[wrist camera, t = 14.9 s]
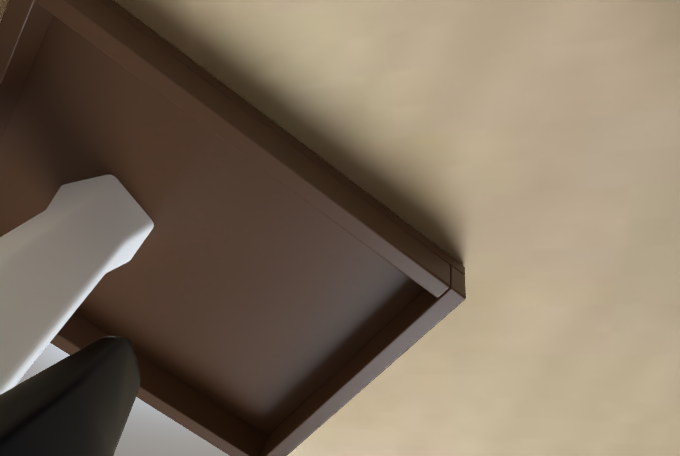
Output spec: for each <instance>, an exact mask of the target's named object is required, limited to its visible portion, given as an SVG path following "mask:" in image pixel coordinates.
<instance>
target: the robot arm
mask: <svg viewBox="0 0 680 456" xmlns="http://www.w3.org/2000/svg"><path fill="white" fill-rule="evenodd" d="M140 383H141V374H140V370H139V366H138V363H137V359H136V356H135V352H134V349H133V345H132V343H131V341H130V340H129V339H128V338H126V337H117V336H105V337H102V338H100V339H98V340H97V341H95V342H93V343H91V344H90V345H88V346H86V347H84V348H82V349H81V350H79V351H77V352H75V353H74V354H72V355H70V356H68V357H66V358H65V359H63V360H61V361H59V362H58V363H56V364H54V365H52V366H51V367H49V368H47V369H45V370H43V371H42V372H40V373H38V374H36V375H35V376H33V377H31V378H29V379H27V380H26V381H24V382H22V383H20V384H18V385H17V386H15V387H13V388H11V389H10V390H8V391H6V392H4V393H2V394H1V395H0V456H113V455H114V452H115V450H116V447H117V445H118V442H119V439H120V436H121V434H122V432H123V429H124V426H125V424H126V421H127V418H128V416H129V413H130V411H131V408H132V406H133V403H134V401H135V398H136V395H137V393H138V390H139V387H140Z"/></svg>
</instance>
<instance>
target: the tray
mask: <svg viewBox="0 0 680 456" xmlns="http://www.w3.org/2000/svg"><path fill="white" fill-rule="evenodd" d="M103 175H113V176H115V177H116V178H117V179H118V180H119V182H120V183H121V184H122V185H123V186H124V187H125V189H126V190H127V191H128V192H129V193H130V195H131V196H132V197H133V198H134V199H135V201H136V202H137V203H138V204H139V205H140V206H141V208H142V209H143V210H144V211H145V212H146V214H147V215H148V216H149V217H150V218H151V220H152V221H153V224H154V227H153V229H152V230H151V232H150V233H149V235H148V236H147V237H146V239H145V240H144V242H143V243H142V244H141V246H140V247H139V249H138V250H137V251H136V253H135V254H134V256H133V257H132V259H131V260H130V261H129V262H127V263H125V264H123V265H121V266H119V267H117V268H115V269H113V270H111V271H109V272H108V273H106V274H105V275H104V276H103V277H102V279H101V280H100V281H99V282H98V284H97V285H96V286H95V287H94V288H93V290H92V291H91V292H90V293H89V295H88V296H87V297H86V298H85V300H84V301H83V302H82V303H81V305H80V306H79V307H78V308H77V310H76V311H75V312H74V313H73V315H72V316H71V317H70V318H69V319H68V321H67V322H66V323H65V324H64V326H63V327H62V328H61V329H60V331H59V332H58V333H57V334H56V336H55V337H54V338H53V339H52V341H51V342H50V343H52V344H53V345H55V346H57V347H58V348H60V349H61V350H63V351H64V352H66V353H68V354H69V355H72V354H74V353H75V352H77V351H79V350H81V349H82V348H84V347H86V346H88V345H90V344H91V343H93V342H95V341H97V340H98V339H100V338H102V337H105V336H117V337H126V338H128V339H129V340H130V341H131V343H132V345H133V349H134V352H135V356H136V359H137V363H138V366H139V370H140V374H141V383H140V387H139V390H138V393H137V395H136V397H138V398H139V399H141V400H142V401H144V402H146V403H147V404H149V405H151V406H152V407H154V408H155V409H157V410H158V411H160V412H162V413H163V414H165V415H166V416H168V417H169V418H171V419H173V420H174V421H176V422H178V423H179V424H181V425H182V426H184V427H185V428H187V429H189V430H190V431H192V432H193V433H195V434H197V435H198V436H200V437H201V438H203V439H204V440H206V441H208V442H209V443H211V444H212V445H214V446H216V447H217V448H219V449H220V450H222V451H223V452H225V453H227V454H228V455H230V456H287V455H288V454H289V453H290V452H292V451H293V450H294V449H295V448H296V447H297V446H298V445H300V444H301V443H302V442H303V441H304V440H305V439H306V438H308V437H309V436H310V435H311V434H312V433H313V432H314V431H315V430H317V429H318V428H319V427H320V426H321V425H322V424H323V423H325V422H326V421H327V420H328V419H329V418H330V417H331V416H333V415H334V414H335V413H336V412H337V411H338V410H339V409H341V408H342V407H343V406H344V405H345V404H346V403H347V402H349V401H350V400H351V399H352V398H353V397H354V396H355V395H356V394H358V393H359V392H360V391H361V390H362V389H363V388H364V387H366V386H367V385H368V384H369V383H370V382H371V381H372V380H374V379H375V378H376V377H377V376H378V375H379V374H380V373H382V372H383V371H384V370H385V369H386V368H387V367H388V366H390V365H391V364H392V363H393V362H394V361H395V360H396V359H397V358H399V357H400V356H401V355H402V354H403V353H404V352H405V351H407V350H408V349H409V348H410V347H411V346H412V345H413V344H415V343H416V342H417V341H418V340H419V339H420V338H421V337H423V336H424V335H425V334H426V333H427V332H428V331H429V330H431V329H432V328H433V327H434V326H435V325H436V324H437V323H438V322H440V321H441V320H442V319H443V318H444V317H445V316H446V315H448V314H449V313H450V312H451V311H452V310H453V309H454V308H456V307H457V306H458V305H459V304H460V303H461V302H462V301H464V300H465V298H466V293H465V267H464V266H463V265H461V264H460V263H459V262H457V261H456V260H455V259H453V258H452V257H451V256H449V255H448V254H447V253H445V252H444V251H443V250H441V249H440V248H439V247H437V246H436V245H435V244H433V243H432V242H431V241H430V240H428V239H427V238H426V237H424V236H423V235H422V234H420V233H419V232H418V231H416V230H415V229H414V228H412V227H411V226H410V225H408V224H407V223H406V222H404V221H403V220H402V219H400V218H399V217H398V216H397V215H395V214H394V213H393V212H391V211H390V210H389V209H387V208H386V207H385V206H383V205H382V204H381V203H379V202H378V201H377V200H375V199H374V198H373V197H371V196H370V195H369V194H367V193H366V192H365V191H364V190H362V189H361V188H360V187H358V186H357V185H356V184H354V183H353V182H352V181H350V180H349V179H348V178H346V177H345V176H344V175H342V174H341V173H340V172H338V171H337V170H336V169H335V168H333V167H332V166H331V165H329V164H328V163H327V162H325V161H324V160H323V159H321V158H320V157H319V156H317V155H316V154H315V153H313V152H312V151H311V150H309V149H308V148H307V147H305V146H304V145H303V144H302V143H300V142H299V141H298V140H296V139H295V138H294V137H292V136H291V135H290V134H288V133H287V132H286V131H284V130H283V129H282V128H280V127H279V126H278V125H276V124H275V123H274V122H272V121H271V120H270V119H269V118H267V117H266V116H265V115H263V114H262V113H261V112H259V111H258V110H257V109H255V108H254V107H253V106H251V105H250V104H249V103H247V102H246V101H245V100H243V99H242V98H241V97H240V96H238V95H237V94H236V93H234V92H233V91H232V90H230V89H229V88H228V87H226V86H225V85H224V84H222V83H221V82H220V81H218V80H217V79H216V78H214V77H213V76H212V75H210V74H209V73H208V72H207V71H205V70H204V69H203V68H201V67H200V66H199V65H197V64H196V63H195V62H193V61H192V60H191V59H189V58H188V57H187V56H185V55H184V54H183V53H181V52H180V51H179V50H177V49H176V48H175V47H174V46H172V45H171V44H170V43H168V42H167V41H166V40H164V39H163V38H162V37H160V36H159V35H158V34H156V33H155V32H154V31H152V30H151V29H150V28H148V27H147V26H146V25H144V24H143V23H142V22H141V21H139V20H138V19H137V18H135V17H134V16H133V15H131V14H130V13H129V12H127V11H126V10H125V9H123V8H122V7H121V6H119V5H118V4H117V3H115V2H114V1H113V0H9V2H8V5H7V7H6V10H5V13H4V15H3V18H2V20H1V23H0V237H2V236H3V235H5V234H7V233H8V232H10V231H12V230H13V229H15V228H17V227H18V226H20V225H22V224H23V223H25V222H27V221H28V220H30V219H32V218H33V217H35V216H37V215H38V214H40V213H42V212H43V211H45V210H46V209H47V207H48V206H49V204H50V203H51V201H52V200H53V198H54V196H55V195H56V193H57V192H58V190H59V188H60V187H61V186H62V185H64V184H68V183H72V182H77V181H81V180H86V179H90V178H94V177H99V176H103Z"/></svg>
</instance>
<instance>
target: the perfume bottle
mask: <svg viewBox="0 0 680 456" xmlns="http://www.w3.org/2000/svg"><path fill="white" fill-rule="evenodd" d="M153 227H154V224H153V221H152V220H151V218H150V217H149V216H148V215H147V214H146V212H145V211H144V210H143V209H142V208H141V206H140V205H139V204H138V203H137V202H136V201H135V199H134V198H133V197H132V196H131V195H130V193H129V192H128V191H127V190H126V189H125V187H124V186H123V185H122V184H121V183H120V182H119V180H118V179H117V178H116V177H115V176H113V175H103V176H99V177H94V178H90V179H86V180H81V181H77V182H72V183H68V184H64V185H62V186H61V187H60V188H59V190H58V192H57V193H56V195H55V196H54V198H53V200H52V201H51V203H50V204H49V206H48V207H47V209H46V210H45V211H43V212H42V213H40V214H38V215H37V216H35V217H33V218H32V219H30V220H28V221H27V222H25V223H23V224H22V225H20V226H18V227H17V228H15V229H13V230H12V231H10V232H8V233H7V234H5V235H3V236H2V237H0V395H1V394H2V393H4V392H6V391H8V390H10V389H11V388H13V387H15V385H16V384H17V383H18V382H19V380H20V379H21V378H22V376H23V375H24V374H25V373H26V372H27V370H28V369H29V368H30V367H31V365H32V364H33V363H34V362H35V360H36V359H37V358H38V357H39V355H40V354H41V353H42V352H43V351H44V349H45V348H46V347H47V345H48V344H49V343H50V342H51V341H52V339H53V338H54V337H55V336H56V334H57V333H58V332H59V331H60V329H61V328H62V327H63V326H64V324H65V323H66V322H67V321H68V319H69V318H70V317H71V316H72V315H73V313H74V312H75V311H76V310H77V308H78V307H79V306H80V305H81V303H82V302H83V301H84V300H85V298H86V297H87V296H88V295H89V293H90V292H91V291H92V290H93V288H94V287H95V286H96V285H97V284H98V282H99V281H100V280H101V279H102V277H103V276H104V275H105V274H106V273H108V272H109V271H111V270H113V269H115V268H117V267H119V266H121V265H123V264H125V263H127V262H129V261H130V260H131V259H132V257H133V256H134V254H135V253H136V251H137V250H138V249H139V247H140V246H141V244H142V243H143V242H144V240H145V239H146V237H147V236H148V235H149V233H150V232H151V230H152V229H153Z"/></svg>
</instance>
